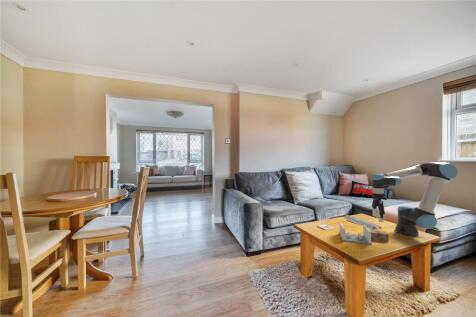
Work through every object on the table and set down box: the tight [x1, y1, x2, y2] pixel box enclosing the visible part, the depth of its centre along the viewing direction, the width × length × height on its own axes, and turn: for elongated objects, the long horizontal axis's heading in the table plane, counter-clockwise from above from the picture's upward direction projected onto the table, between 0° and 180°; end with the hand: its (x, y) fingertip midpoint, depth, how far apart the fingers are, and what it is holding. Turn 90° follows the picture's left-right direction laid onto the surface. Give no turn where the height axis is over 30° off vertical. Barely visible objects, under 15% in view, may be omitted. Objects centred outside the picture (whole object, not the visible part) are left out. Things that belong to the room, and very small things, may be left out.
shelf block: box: [369, 229, 389, 242], centre depth 149 cm, size 12×6×6 cm, turn 73°
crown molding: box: [343, 214, 382, 230], centre depth 185 cm, size 31×12×4 cm, turn 15°
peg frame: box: [338, 222, 373, 246], centre depth 149 cm, size 20×14×10 cm
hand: (377, 219), depth 149 cm, fingers open, 13 cm apart
